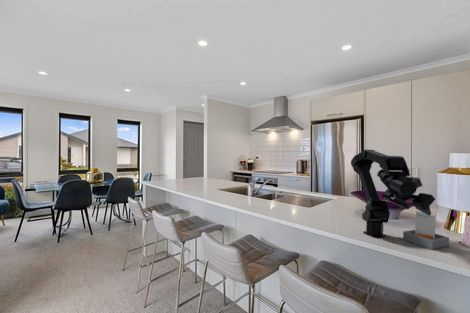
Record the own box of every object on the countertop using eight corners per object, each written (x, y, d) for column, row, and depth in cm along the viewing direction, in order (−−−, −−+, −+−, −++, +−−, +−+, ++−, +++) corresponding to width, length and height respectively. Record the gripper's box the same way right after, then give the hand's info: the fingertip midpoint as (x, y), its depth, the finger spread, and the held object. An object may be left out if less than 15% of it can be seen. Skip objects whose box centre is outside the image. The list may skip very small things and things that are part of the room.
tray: (431, 249, 83) (432, 240, 83) (403, 239, 93) (403, 231, 93) (448, 246, 86) (449, 237, 86) (419, 236, 96) (419, 228, 96)
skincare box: (414, 241, 90) (415, 212, 90) (415, 238, 93) (416, 210, 93) (434, 246, 86) (435, 215, 86) (435, 242, 89) (435, 213, 89)
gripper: (431, 172, 79) (456, 202, 80) (389, 169, 97) (410, 193, 99) (411, 194, 78) (437, 224, 79) (372, 186, 97) (394, 210, 98)
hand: (418, 211), depth 89 cm, fingers open, 9 cm apart
